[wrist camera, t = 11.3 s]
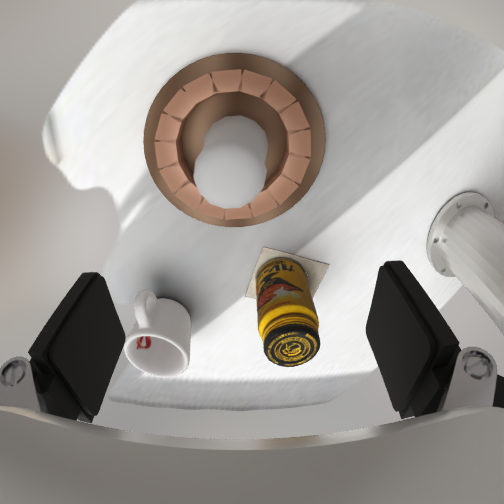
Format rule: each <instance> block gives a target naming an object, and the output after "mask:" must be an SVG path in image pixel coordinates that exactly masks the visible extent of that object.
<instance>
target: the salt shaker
mask: <svg viewBox="0 0 504 504" xmlns="http://www.w3.org/2000/svg"><path fill="white" fill-rule="evenodd" d="M268 146H269V145H268V141H267V137H266V133H265V131H264V130H263V129H262V128H261V127H260V126H259V125H258V124H257V123H256V122H255V121H254V120H251V119H249V118H246V117H244V116H242V115H239V116H227V117H224V118H222V119H221V120H219V121H217V122H215V123H213V124H212V126H211V127H210V129H209V130H208V132H207V133H206V135H205V137H204V144H203V150H202V151H201V153H200V154H199V156H198V157H197V159H196V161H195V169H194V181H195V183H196V186H197V189H198V191H199V193H200V194H201V195H202V196H203V197H204V198H205V199H206V200H207V201H208V202H209V203H210V204H213V205H215V206H218V207H221V208H224V209H227V208H240V207H242V206H244V205H246V204H248V203H250V202H252V201H253V200H254V199H255V198H256V197H257V195H258V194H259V193H260V191H261V190H262V189H263V187H264V183H265V178H266V172H267V170H266V166H265V160H266V158H267V152H268Z"/></svg>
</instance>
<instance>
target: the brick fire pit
mask: <svg viewBox="0 0 504 504" xmlns="http://www.w3.org/2000/svg"><path fill="white" fill-rule="evenodd" d="M239 115H242V116H244V117H246V118H249V119H251V120H254V121H255V122H256V123H257V124H258V125H259V126H260V127H261V128H262V129H263V130H264V131H265V133H266V137H267V141H268V145H269V146H268V152H267V158H266V160H265V166H266V170H267V172H266V178H265V183H264V187H263V189H262V190H261V191H260V193H259V194H258V195H257V197H256V198H255V199H254V200H253V201H252V202H250V203H248V204H246V205H244V206H242V207H240V208H227V209H224V208H221V207H218V206H215V205H213V204H210V203H209V202H208V201H207V200H206V199H205V198H204V197H203V196H202V195H201V194H200V193H199V191H198V189H197V186H196V183H195V181H194V169H195V161H196V159H197V157H198V156H199V154H200V153H201V151H202V150H203V144H204V137H205V135H206V133H207V132H208V130H209V129H210V127H211V126H212V124H213V123H215V122H217V121H219V120H221V119H222V118H224V117H227V116H239ZM324 152H325V127H324V123H323V118H322V115H321V112H320V109H319V107H318V104H317V102H316V101H315V99H314V97H313V95H312V94H311V92H310V91H309V89H308V88H307V87H306V85H305V84H304V83H303V82H302V81H301V80H300V79H299V78H298V77H297V76H296V75H295V74H293V73H292V72H291V71H289V70H288V69H287V68H285V67H283V66H282V65H280V64H278V63H276V62H274V61H271V60H269V59H267V58H264V57H260V56H256V55H252V54H243V53H225V54H219V55H213V56H210V57H207V58H203V59H201V60H198V61H196V62H194V63H192V64H190V65H188V66H187V67H185V68H183V69H182V70H180V71H179V72H178V73H177V74H175V75H174V76H173V77H172V78H171V79H170V80H169V81H168V82H167V83H166V84H165V85H164V86H163V87H162V89H161V90H160V92H159V93H158V94H157V96H156V97H155V99H154V101H153V103H152V105H151V107H150V110H149V113H148V116H147V119H146V123H145V128H144V154H145V158H146V163H147V166H148V169H149V171H150V174H151V176H152V178H153V180H154V182H155V184H156V185H157V187H158V188H159V190H160V191H161V193H162V194H163V195H164V196H165V197H166V198H167V199H168V200H169V201H170V202H171V203H172V204H173V205H174V206H175V207H177V208H178V209H179V210H181V211H182V212H184V213H185V214H187V215H189V216H191V217H193V218H195V219H197V220H199V221H202V222H205V223H208V224H212V225H217V226H224V227H244V226H252V225H256V224H260V223H263V222H266V221H268V220H271V219H273V218H275V217H277V216H279V215H281V214H283V213H284V212H286V211H287V210H289V209H290V208H292V207H293V206H294V205H295V204H296V203H297V202H298V201H300V200H301V198H302V197H303V196H304V195H305V194H306V193H307V192H308V190H309V189H310V187H311V186H312V184H313V183H314V181H315V179H316V177H317V175H318V173H319V170H320V167H321V164H322V162H323V157H324Z"/></svg>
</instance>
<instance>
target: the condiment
mask: <svg viewBox="0 0 504 504" xmlns="http://www.w3.org/2000/svg"><path fill="white" fill-rule="evenodd" d="M328 267H329V265H328V264H324V263H321V262H316V261H313V260H310V259H306V258H302V257H299V256H296V255H292V254H288V253H285V252H281V251H277V250H273V249H270V248H264V247H263V249H262V252H261V255H260V257H259V260H258V262H257V265H256V268H255V270H254V273H253V276H252V279H251V281H250V284H249V287H248V290H247V292H246V295H245V297H249V298H254V299H257V312H258V331H259V334H260V336H261V338H262V340H263V345H264V347H263V348H264V353H265V355H266V356H267V358H268V359H269V361H271V362H273V363H274V364H277V365H279V366H284V367H294V366H298V365H301V364H303V363H306V362H308V361H309V360H311V359H312V358H313V357H314V356H315V355H316V354H317V352H318V351H319V348H320V338H319V335H318V327H319V321H318V316H317V313H316V309H315V306H314V303H313V297H314V294H315V292H316V290H317V289H318V287H319V284H320V283H321V281H322V279H323V277H324V275H325V273H326V271H327V269H328ZM305 272H307V274H308V275H309V276H307V274H305Z"/></svg>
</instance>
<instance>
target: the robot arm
mask: <svg viewBox="0 0 504 504" xmlns="http://www.w3.org/2000/svg"><path fill="white" fill-rule="evenodd" d="M427 252H428V258H429V261H430V263H431V265H432V266H433V267H434V268H435V270H436V271H437V272H438V273H440V274H441V275H444V276H446V277H455V276H456V277H457V278H458V279H459V280H460V281H461V283H462V284H463V285H464V286H465V287H466V288H467V290H468V291H469V292H470V293H471V294H472V295H473V297H474V298H475V299H476V300H477V301H478V302H479V304H480V305H481V306H482V308H483V309H484V310H485V311H486V313H487V314H488V315H489V316H490V318H491V319H492V320H493V322H494V323H495V324H496V325H497V327H498V328H499V330H500V331H501V332H502V333H503V335H504V224H503V223H501V222H500V221H498V220H497V219H496V218H495V214H494V210H493V207H492V206H491V204H490V202H489V201H488V200H487V199H486V198H485V197H483V196H481V195H480V194H477V193H474V192H467V193H462V194H460V195H458V196H456V197H454V198H453V199H451V200H450V201H449V202H448V203H447V204H446V205H445V206H444V207H443V208H442V209H441V211H440V212H439V213H438V215H437V217H436V218H435V220H434V222H433V224H432V227H431V229H430V232H429V237H428V243H427ZM366 335H367V338H368V341H369V343H370V346H371V348H372V351H373V353H374V356H375V359H376V361H377V364H378V366H379V369H380V372H381V375H382V377H383V380H384V383H385V386H386V388H387V391H388V394H389V397H390V400H391V402H392V405H393V408H394V410H395V411H396V412H397V411H399V413H400V416H401V419H404V418H408V417H412V416H415V418H411V419H407V420H403V421H398V422H394V423H389V424H384V425H379V426H373V427H368V428H363V429H357V430H351V431H345V432H338V433H330V434H322V435H313V436H304V437H291V438H275V439H242V440H241V439H238V440H237V439H236V440H235V439H234V440H233V439H232V440H231V439H229V440H228V439H199V438H184V437H172V436H163V435H162V436H161V435H154V434H145V433H138V432H131V431H125V430H119V429H113V428H108V427H103V426H97V425H93V424H88V423H92V421H93V418H94V416H96V415H97V414H98V412H99V410H100V407H101V404H102V401H103V398H104V396H105V393H106V390H107V387H108V385H109V382H110V379H111V377H112V374H113V371H114V369H115V366H116V364H117V361H118V359H119V356H120V354H121V351H122V349H123V346H124V344H125V332H124V330H123V327H122V325H121V322H120V320H119V317H118V315H117V312H116V309H115V307H114V304H113V301H112V298H111V295H110V293H109V290H108V287H107V284H106V281H105V279H104V277H102V276H101V275H100V274H99V273H97V272H89V273H82V274H81V276H80V277H79V278H78V280H77V281H76V282H75V284H74V285H73V287H72V288H71V289H70V290H69V292H68V293H67V295H66V296H65V297H64V299H63V300H62V301H61V303H60V305H59V306H58V307H57V309H56V310H55V311H54V313H53V314H52V316H51V317H50V319H49V320H48V322H47V323H46V325H45V326H44V328H43V329H42V331H41V332H40V334H39V335H38V337H37V338H36V340H35V342H34V343H33V345H32V347H31V348H30V350H29V351H28V353H29V355H30V356H31V360H30V362H29V361H28V360H27V359H26V358H24V357H14V358H11V359H10V360H8V361H7V362H6V363H4V364H3V366H2V367H1V368H0V504H504V377H502V376H500V375H497V365H496V362H495V360H494V359H493V357H492V356H491V355H490V354H489V353H488V352H487V351H485V350H483V349H481V348H478V347H467V348H464V349H463V350H461V349H460V347H459V346H458V345H459V341H458V340H457V338H456V336H455V335H454V333H453V332H452V330H451V329H450V327H449V326H448V325H447V323H446V321H445V320H444V318H443V317H442V315H441V314H440V312H439V311H438V309H437V308H436V306H435V305H434V303H433V302H432V300H431V299H430V298H429V296H428V295H427V293H426V292H425V291H424V289H423V288H422V286H421V285H420V284H419V282H418V281H417V280H416V278H415V277H414V276H413V274H412V273H411V272H410V270H409V269H408V268H407V266H406V265H405V264H404V262H403V261H386V262H385V263H384V266H381V267H380V268H379V272H378V277H377V281H376V286H375V291H374V295H373V299H372V304H371V308H370V312H369V316H368V320H367V324H366ZM77 419H78V420H80V421H84V422H88V423H84V422H79V421H77Z"/></svg>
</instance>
